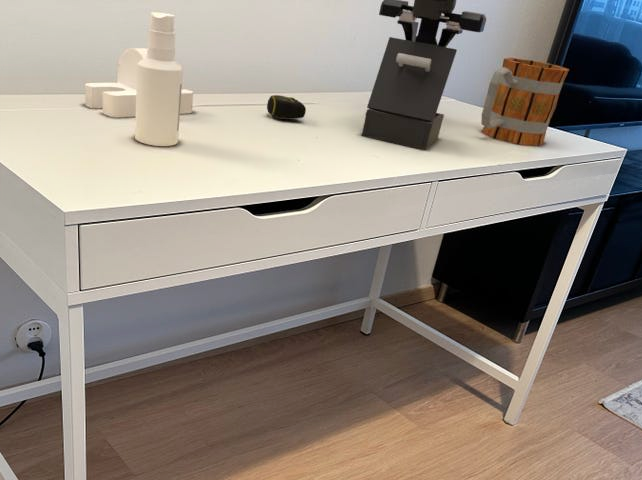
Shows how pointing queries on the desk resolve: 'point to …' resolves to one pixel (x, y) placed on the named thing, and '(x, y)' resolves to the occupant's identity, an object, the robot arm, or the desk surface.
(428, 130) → the dark grey box
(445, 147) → the desk surface
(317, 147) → the desk surface
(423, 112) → the lid
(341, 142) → the desk surface
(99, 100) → the white slotted bracket
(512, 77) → the mug
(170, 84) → the spray bottle
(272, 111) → the tape measure
